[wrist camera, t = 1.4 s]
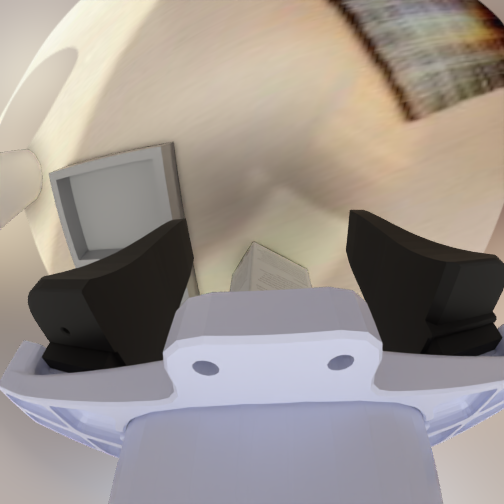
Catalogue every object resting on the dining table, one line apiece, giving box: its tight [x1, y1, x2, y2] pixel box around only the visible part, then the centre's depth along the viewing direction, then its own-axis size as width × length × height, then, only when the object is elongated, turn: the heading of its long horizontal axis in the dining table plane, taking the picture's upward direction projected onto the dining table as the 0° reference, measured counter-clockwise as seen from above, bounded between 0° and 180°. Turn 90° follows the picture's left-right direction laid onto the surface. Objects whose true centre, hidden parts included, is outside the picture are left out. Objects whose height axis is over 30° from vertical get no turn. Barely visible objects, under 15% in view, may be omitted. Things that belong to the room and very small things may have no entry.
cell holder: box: [49, 142, 199, 308], centre depth 26 cm, size 27×12×3 cm, turn 4°
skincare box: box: [230, 242, 312, 292], centre depth 21 cm, size 6×4×12 cm
